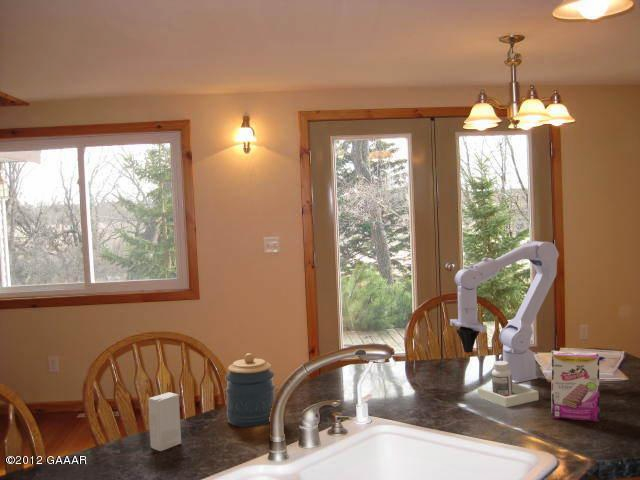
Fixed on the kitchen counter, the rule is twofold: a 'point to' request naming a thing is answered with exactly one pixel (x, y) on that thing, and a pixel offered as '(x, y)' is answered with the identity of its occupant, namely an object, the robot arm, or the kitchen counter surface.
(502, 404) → the u-shaped bracket
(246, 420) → the canister
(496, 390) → the pill bottle
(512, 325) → the robot arm
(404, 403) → the kitchen counter surface
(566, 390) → the candy bar box
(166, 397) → the skincare box
